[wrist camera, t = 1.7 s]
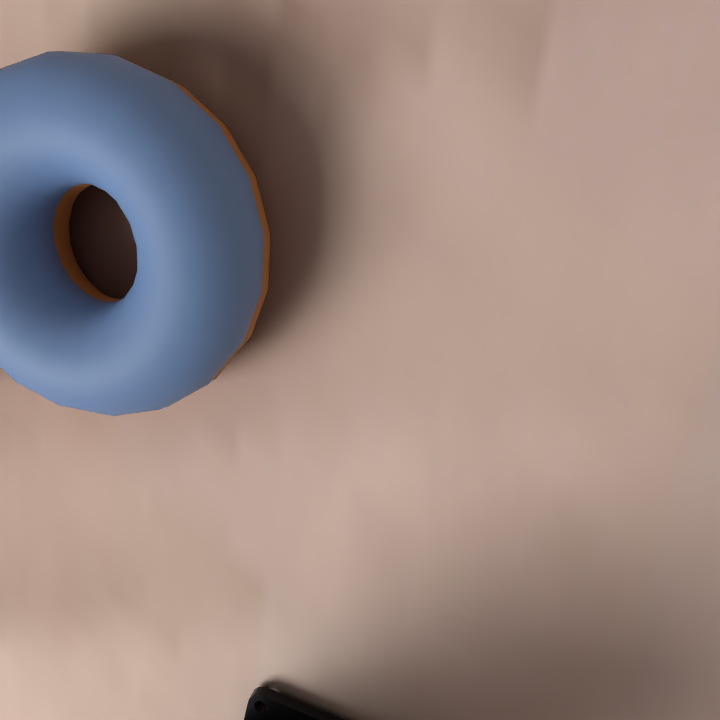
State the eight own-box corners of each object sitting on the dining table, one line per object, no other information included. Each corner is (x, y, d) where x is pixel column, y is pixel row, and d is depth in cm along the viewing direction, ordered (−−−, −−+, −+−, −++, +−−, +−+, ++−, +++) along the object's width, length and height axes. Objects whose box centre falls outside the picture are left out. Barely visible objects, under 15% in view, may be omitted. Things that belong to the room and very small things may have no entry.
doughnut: (359, 201, 18) (278, 212, 14) (199, 447, 22) (101, 510, 18) (99, -8, 19) (-45, -54, 15) (-5, 263, 24) (-139, 283, 20)
